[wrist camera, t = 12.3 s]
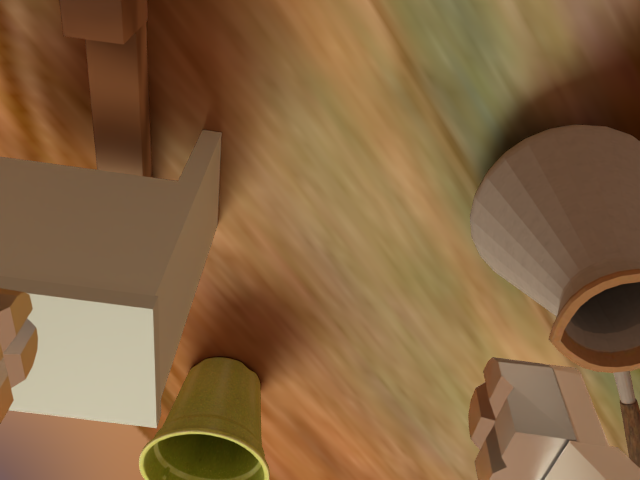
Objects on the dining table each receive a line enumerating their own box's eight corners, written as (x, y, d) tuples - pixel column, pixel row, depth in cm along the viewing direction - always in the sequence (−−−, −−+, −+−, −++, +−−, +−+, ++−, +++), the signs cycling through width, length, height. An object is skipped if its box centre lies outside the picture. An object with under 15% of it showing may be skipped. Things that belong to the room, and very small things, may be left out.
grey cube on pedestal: (23, 101, 38) (-167, 268, 24) (225, 130, 38) (153, 309, 24) (39, 203, 42) (-115, 395, 28) (220, 227, 42) (156, 428, 28)
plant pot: (281, 420, 54) (271, 513, 47) (175, 416, 54) (148, 507, 47) (279, 343, 48) (266, 434, 41) (161, 338, 49) (128, 428, 42)
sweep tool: (86, -88, 31) (50, -75, 28) (144, -79, 32) (117, -65, 28) (110, 201, 41) (86, 239, 38) (154, 207, 42) (135, 245, 38)
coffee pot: (445, 138, 38) (490, 295, 25) (642, 80, 35) (799, 223, 23) (505, 370, 49) (557, 556, 37) (658, 338, 46) (769, 528, 34)
